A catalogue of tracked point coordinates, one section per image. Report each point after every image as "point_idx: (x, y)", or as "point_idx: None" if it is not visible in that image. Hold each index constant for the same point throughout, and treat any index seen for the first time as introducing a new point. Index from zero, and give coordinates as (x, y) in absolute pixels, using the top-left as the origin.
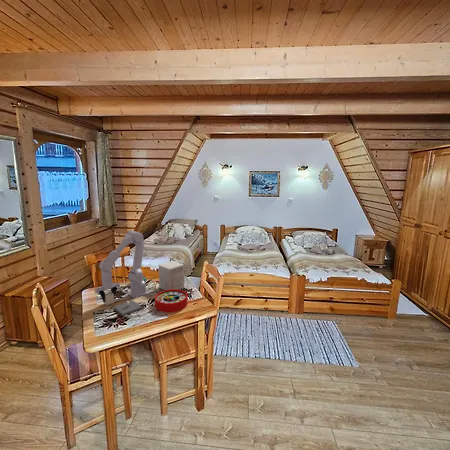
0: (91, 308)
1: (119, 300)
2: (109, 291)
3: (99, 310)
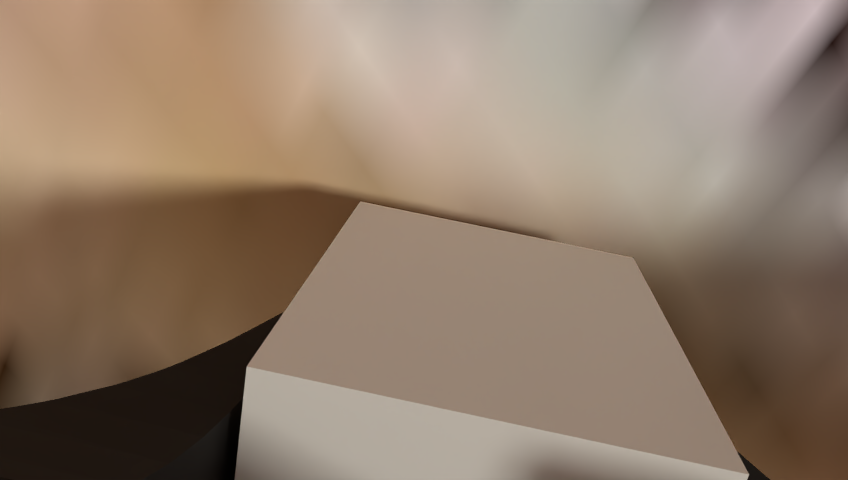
0: (26, 129)
1: (810, 365)
2: (678, 464)
3: None
